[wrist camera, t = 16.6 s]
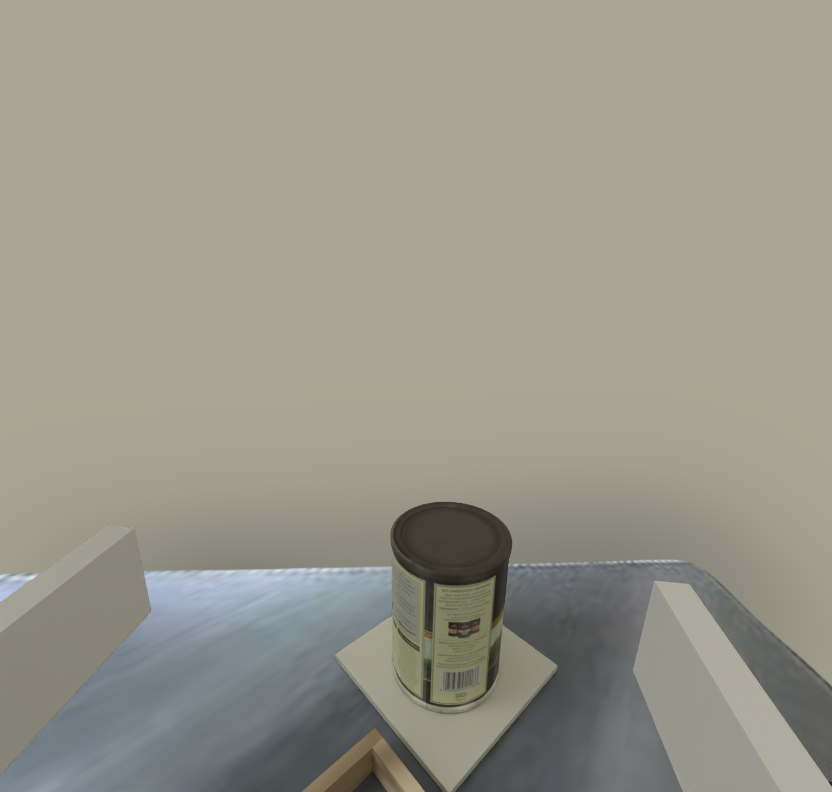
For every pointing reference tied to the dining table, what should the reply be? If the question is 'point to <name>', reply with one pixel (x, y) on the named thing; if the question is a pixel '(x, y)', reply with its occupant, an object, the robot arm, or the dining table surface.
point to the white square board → (446, 732)
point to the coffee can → (448, 604)
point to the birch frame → (366, 768)
